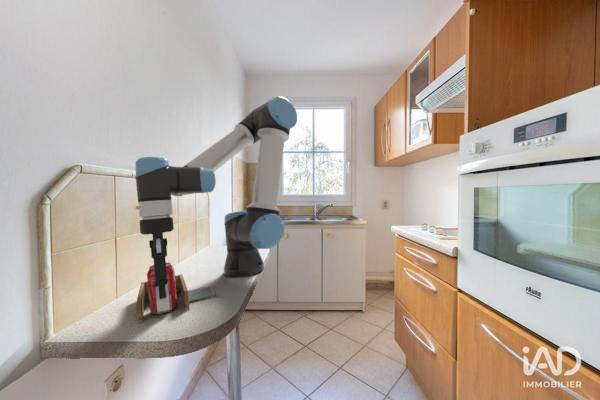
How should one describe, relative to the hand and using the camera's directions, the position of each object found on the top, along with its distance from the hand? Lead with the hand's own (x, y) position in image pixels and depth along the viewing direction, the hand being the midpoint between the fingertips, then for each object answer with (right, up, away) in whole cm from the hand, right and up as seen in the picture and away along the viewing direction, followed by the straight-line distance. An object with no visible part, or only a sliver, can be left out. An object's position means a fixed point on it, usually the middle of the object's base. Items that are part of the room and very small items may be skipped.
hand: (163, 306), depth 63 cm
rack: (-3, -2, +5) cm, 6 cm away
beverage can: (0, -2, +1) cm, 2 cm away
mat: (+5, -1, +10) cm, 11 cm away
